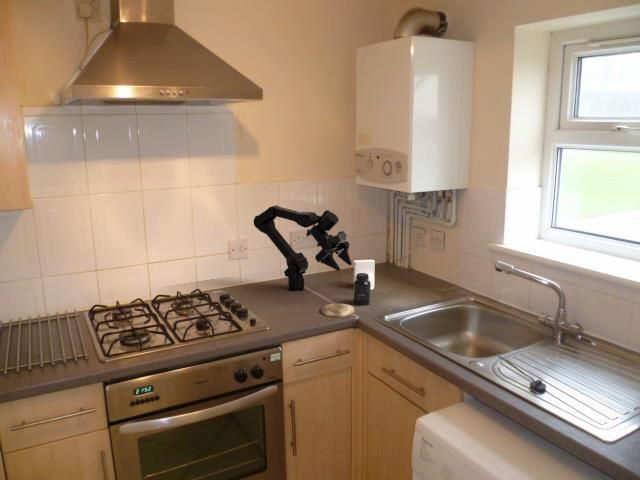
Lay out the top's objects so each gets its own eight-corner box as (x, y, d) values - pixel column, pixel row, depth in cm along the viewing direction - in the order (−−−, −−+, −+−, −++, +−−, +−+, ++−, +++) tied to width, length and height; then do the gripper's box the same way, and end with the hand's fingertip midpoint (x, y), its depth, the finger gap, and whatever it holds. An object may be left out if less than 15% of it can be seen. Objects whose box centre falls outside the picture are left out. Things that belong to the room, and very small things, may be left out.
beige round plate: (323, 318, 202) (323, 315, 202) (319, 306, 214) (319, 304, 214) (357, 316, 204) (357, 314, 203) (351, 304, 216) (351, 302, 216)
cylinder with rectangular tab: (371, 283, 243) (372, 257, 240) (376, 290, 234) (376, 263, 232) (351, 284, 242) (352, 258, 239) (355, 290, 233) (356, 264, 230)
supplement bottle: (358, 306, 214) (358, 277, 211) (350, 301, 220) (350, 273, 217) (373, 304, 216) (374, 275, 214) (365, 299, 222) (365, 271, 220)
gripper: (321, 229, 211) (345, 261, 208) (346, 221, 226) (369, 251, 223) (305, 246, 217) (328, 277, 214) (330, 238, 232) (352, 266, 229)
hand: (345, 267), depth 219 cm, fingers open, 9 cm apart
